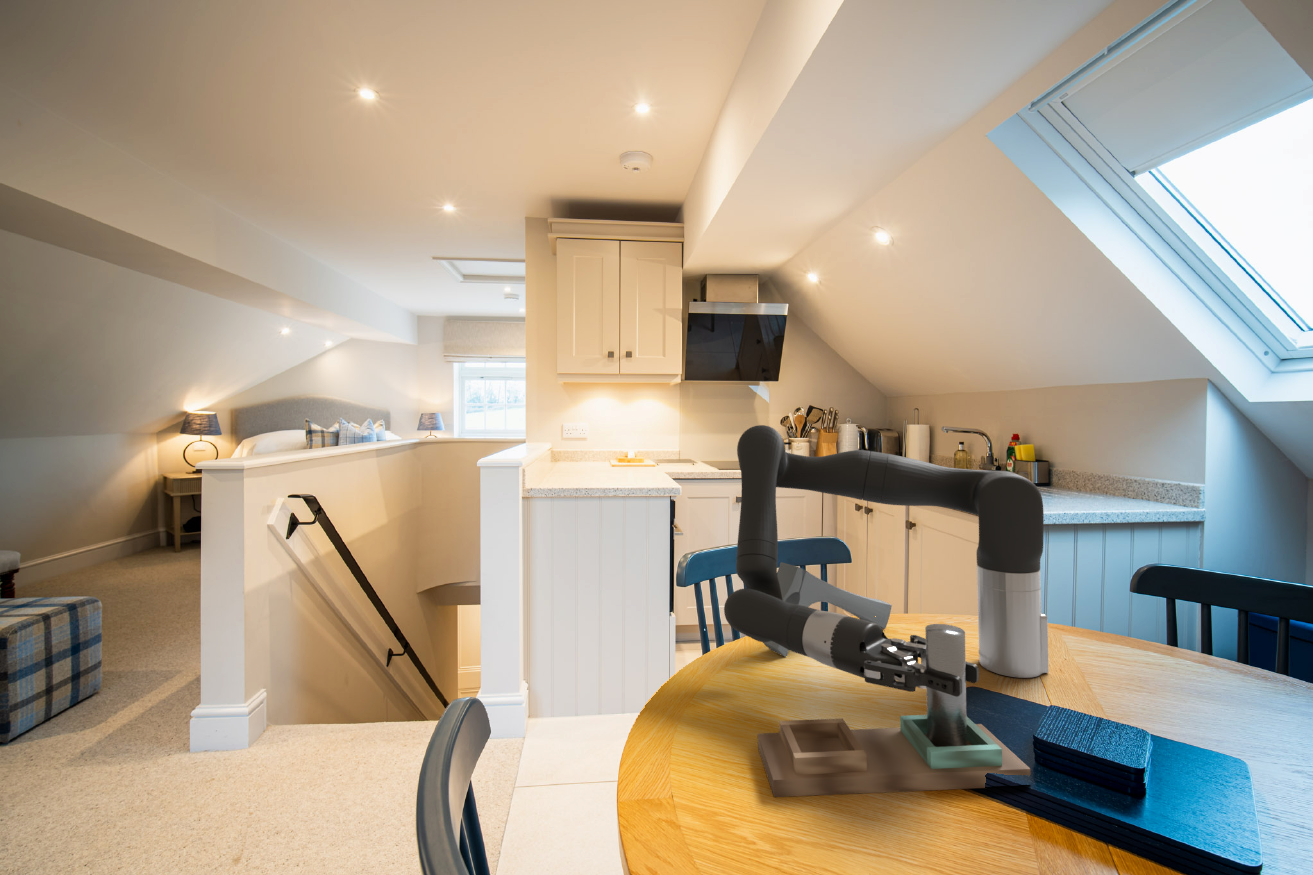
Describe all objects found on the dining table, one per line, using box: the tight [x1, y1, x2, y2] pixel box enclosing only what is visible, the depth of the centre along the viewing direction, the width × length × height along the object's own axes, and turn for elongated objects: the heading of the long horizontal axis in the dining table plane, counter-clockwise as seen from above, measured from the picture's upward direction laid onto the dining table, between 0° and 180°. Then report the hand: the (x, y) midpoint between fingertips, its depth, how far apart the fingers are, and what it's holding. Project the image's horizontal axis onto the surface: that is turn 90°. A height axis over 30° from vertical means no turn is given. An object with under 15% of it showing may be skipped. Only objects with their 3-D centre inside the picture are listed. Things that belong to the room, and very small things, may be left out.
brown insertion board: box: [757, 714, 1032, 798], centre depth 72 cm, size 30×10×4 cm, turn 90°
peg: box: [925, 623, 967, 747], centre depth 72 cm, size 4×4×14 cm
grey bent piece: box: [762, 561, 893, 658], centre depth 113 cm, size 6×17×30 cm
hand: (968, 680), depth 70 cm, fingers closed on peg, 4 cm apart
